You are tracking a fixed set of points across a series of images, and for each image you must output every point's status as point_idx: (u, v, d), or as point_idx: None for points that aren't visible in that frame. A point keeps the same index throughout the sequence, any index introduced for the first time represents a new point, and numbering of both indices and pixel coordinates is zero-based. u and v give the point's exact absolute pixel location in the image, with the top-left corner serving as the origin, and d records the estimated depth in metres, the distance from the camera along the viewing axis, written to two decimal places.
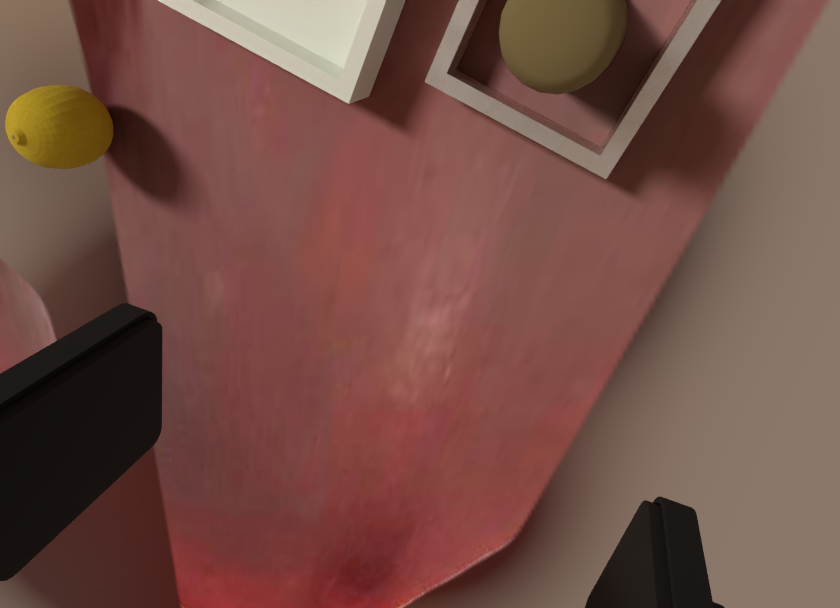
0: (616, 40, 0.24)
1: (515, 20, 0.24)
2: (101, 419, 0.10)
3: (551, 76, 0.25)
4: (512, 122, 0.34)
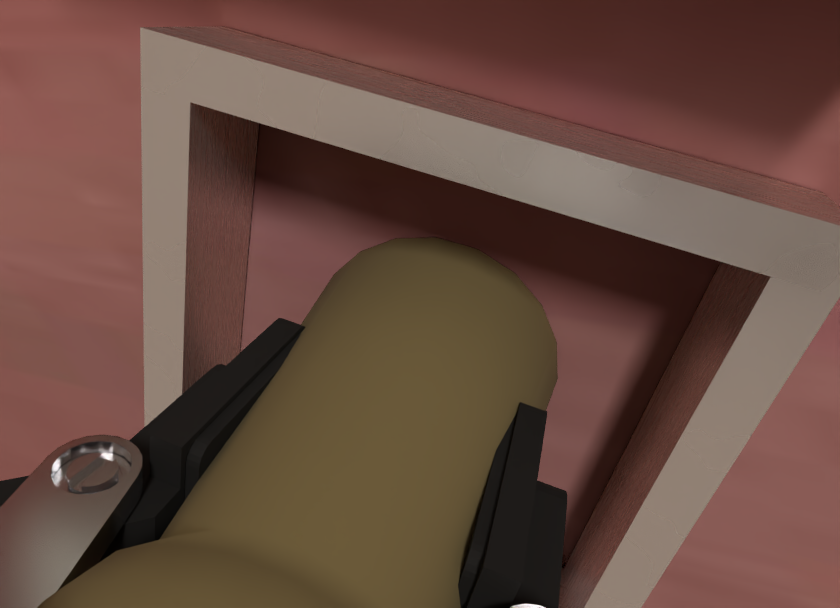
0: None
1: None
2: None
3: None
4: (156, 314, 0.13)
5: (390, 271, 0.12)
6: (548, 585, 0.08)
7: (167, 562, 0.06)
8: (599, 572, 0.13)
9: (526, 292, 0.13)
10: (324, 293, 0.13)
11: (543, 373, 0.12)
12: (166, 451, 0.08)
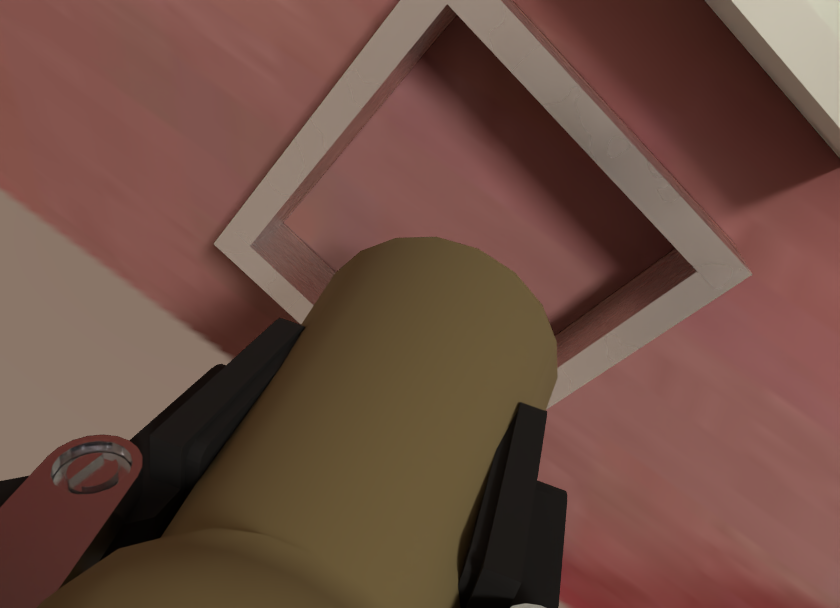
0: None
1: None
2: None
3: None
4: (324, 117, 0.18)
5: (390, 270, 0.12)
6: (548, 585, 0.08)
7: (168, 560, 0.06)
8: None
9: (526, 291, 0.13)
10: (324, 292, 0.13)
11: (543, 372, 0.12)
12: (166, 451, 0.08)
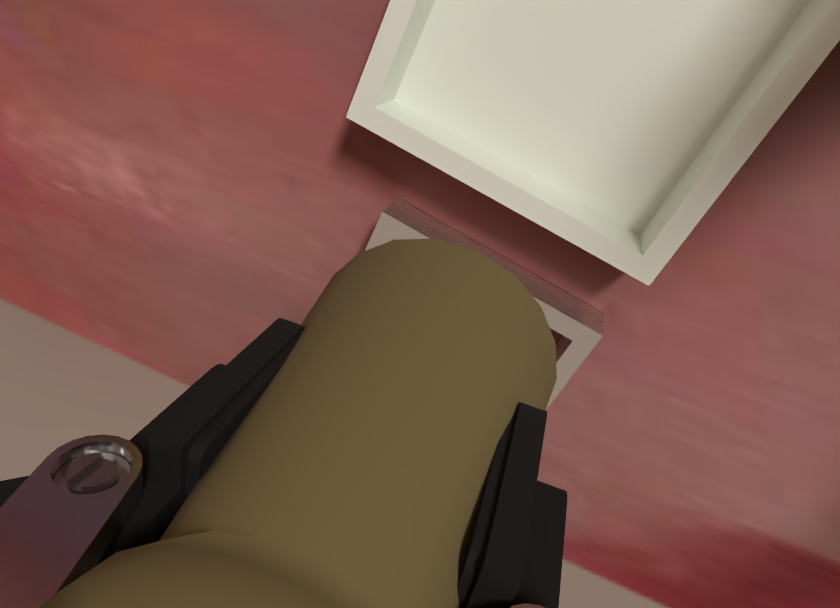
0: None
1: None
2: None
3: None
4: None
5: (389, 272, 0.12)
6: (548, 586, 0.08)
7: (166, 564, 0.06)
8: None
9: (525, 293, 0.13)
10: (323, 294, 0.13)
11: (542, 374, 0.12)
12: (166, 451, 0.08)
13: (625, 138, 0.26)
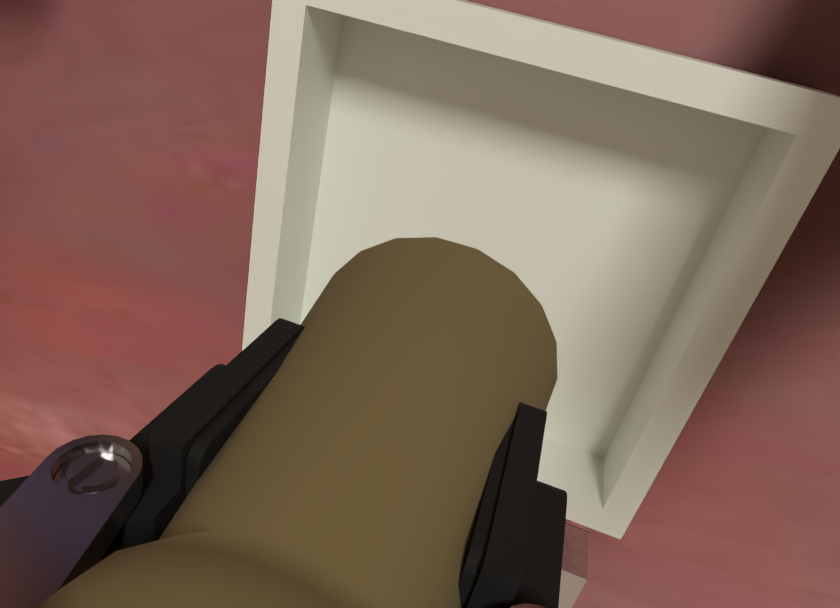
0: None
1: None
2: None
3: None
4: None
5: (390, 271, 0.12)
6: (548, 586, 0.08)
7: (166, 562, 0.06)
8: None
9: (526, 292, 0.13)
10: (324, 293, 0.13)
11: (543, 373, 0.12)
12: (166, 451, 0.08)
13: (557, 362, 0.22)
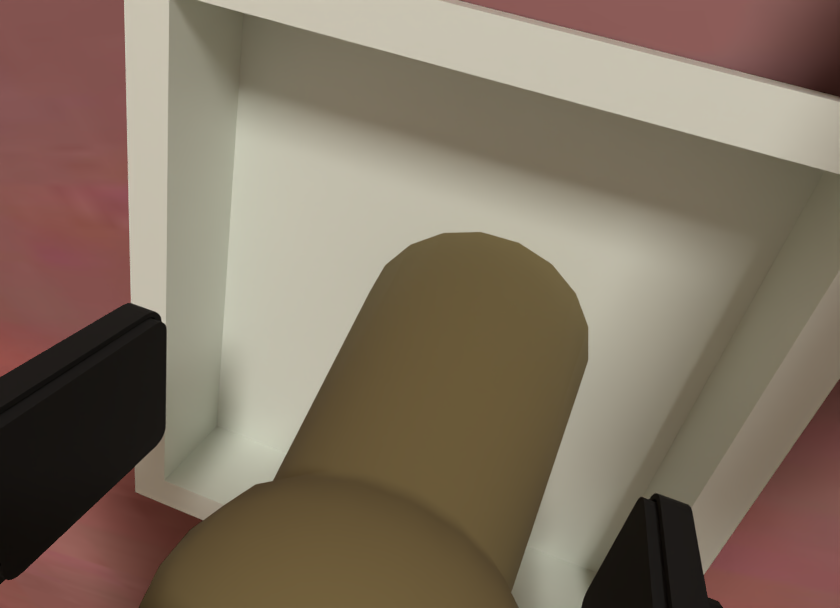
0: None
1: None
2: (106, 419, 0.10)
3: None
4: None
5: (443, 261, 0.13)
6: None
7: (308, 488, 0.07)
8: None
9: (562, 281, 0.14)
10: (380, 282, 0.14)
11: (579, 353, 0.14)
12: None
13: None
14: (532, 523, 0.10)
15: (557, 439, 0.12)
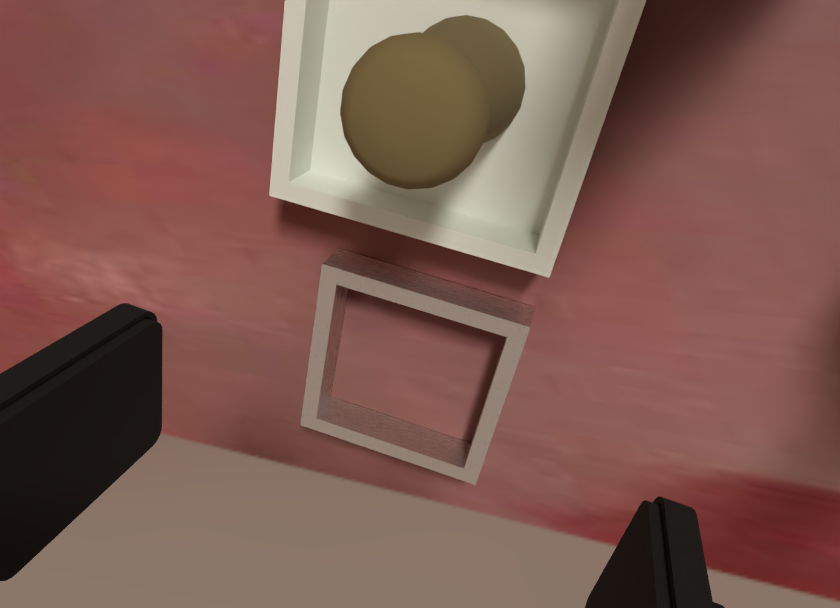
0: (414, 188, 0.21)
1: (403, 63, 0.19)
2: (101, 419, 0.10)
3: (353, 129, 0.20)
4: (316, 348, 0.36)
5: (448, 22, 0.26)
6: None
7: None
8: (475, 434, 0.36)
9: (509, 38, 0.27)
10: None
11: (518, 70, 0.27)
12: None
13: (502, 158, 0.30)
14: (491, 102, 0.23)
15: (504, 89, 0.25)
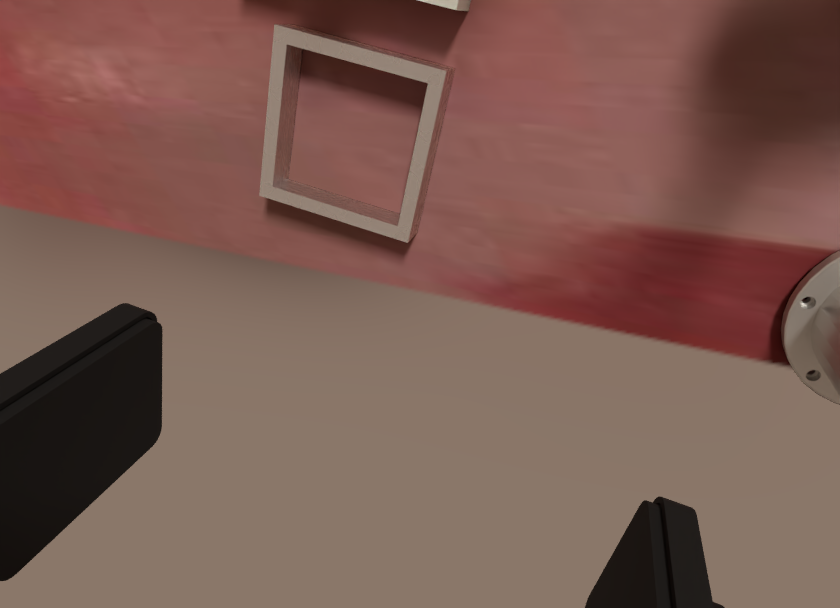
0: None
1: None
2: (101, 419, 0.10)
3: None
4: (271, 112, 0.42)
5: None
6: None
7: None
8: (406, 190, 0.42)
9: None
10: None
11: None
12: None
13: None
14: None
15: None
